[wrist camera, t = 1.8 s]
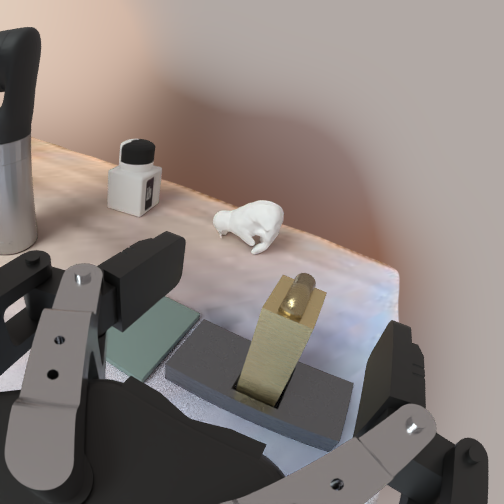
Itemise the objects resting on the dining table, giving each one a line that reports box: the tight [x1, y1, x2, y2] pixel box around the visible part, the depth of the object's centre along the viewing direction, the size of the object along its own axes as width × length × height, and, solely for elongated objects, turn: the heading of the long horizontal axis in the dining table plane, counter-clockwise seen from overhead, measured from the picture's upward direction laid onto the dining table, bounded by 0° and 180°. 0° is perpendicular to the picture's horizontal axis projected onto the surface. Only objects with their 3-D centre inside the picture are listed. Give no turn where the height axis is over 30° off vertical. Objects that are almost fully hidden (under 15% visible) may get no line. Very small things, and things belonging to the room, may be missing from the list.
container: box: [108, 139, 162, 217], centre depth 57 cm, size 8×8×13 cm
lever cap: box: [236, 273, 326, 407], centre depth 28 cm, size 4×5×14 cm
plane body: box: [165, 319, 354, 452], centre depth 31 cm, size 18×8×2 cm, turn 67°
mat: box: [106, 296, 200, 382], centre depth 35 cm, size 12×12×1 cm
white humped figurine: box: [213, 200, 284, 255], centre depth 55 cm, size 6×8×12 cm
